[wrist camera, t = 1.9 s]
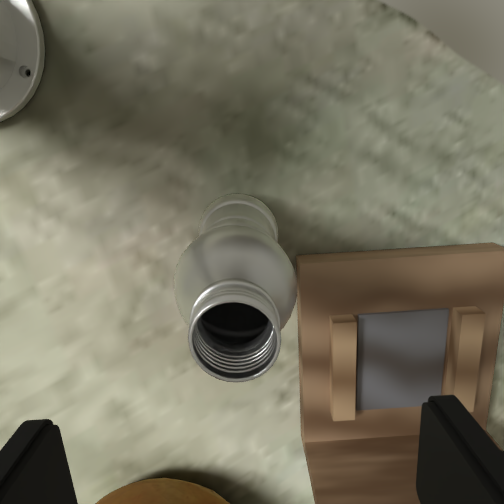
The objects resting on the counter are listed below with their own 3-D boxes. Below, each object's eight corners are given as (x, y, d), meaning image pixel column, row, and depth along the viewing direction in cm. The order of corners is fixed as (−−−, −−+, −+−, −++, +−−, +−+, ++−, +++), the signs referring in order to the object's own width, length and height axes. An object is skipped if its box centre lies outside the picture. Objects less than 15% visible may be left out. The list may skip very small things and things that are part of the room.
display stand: (296, 255, 35) (341, 353, 19) (492, 242, 35) (700, 329, 19) (301, 435, 41) (339, 625, 25) (469, 423, 41) (614, 605, 25)
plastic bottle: (229, 275, 35) (215, 440, 16) (186, 214, 33) (113, 318, 14) (289, 238, 34) (350, 365, 15) (248, 173, 33) (258, 226, 13)
